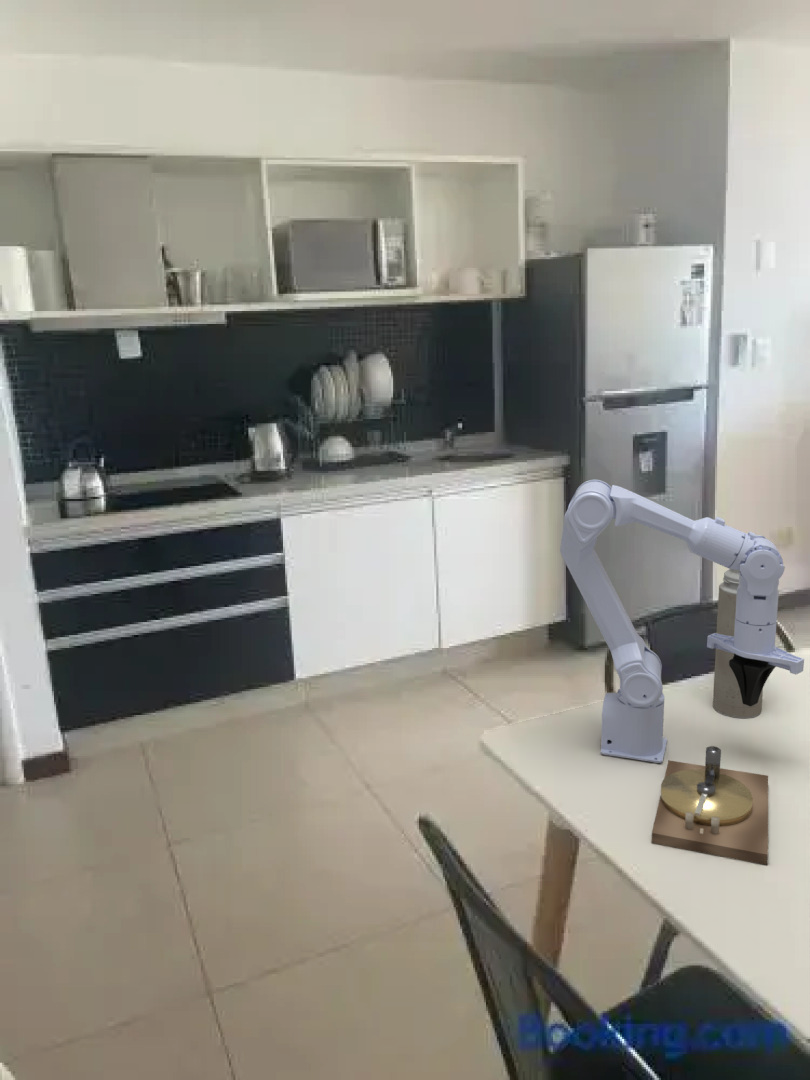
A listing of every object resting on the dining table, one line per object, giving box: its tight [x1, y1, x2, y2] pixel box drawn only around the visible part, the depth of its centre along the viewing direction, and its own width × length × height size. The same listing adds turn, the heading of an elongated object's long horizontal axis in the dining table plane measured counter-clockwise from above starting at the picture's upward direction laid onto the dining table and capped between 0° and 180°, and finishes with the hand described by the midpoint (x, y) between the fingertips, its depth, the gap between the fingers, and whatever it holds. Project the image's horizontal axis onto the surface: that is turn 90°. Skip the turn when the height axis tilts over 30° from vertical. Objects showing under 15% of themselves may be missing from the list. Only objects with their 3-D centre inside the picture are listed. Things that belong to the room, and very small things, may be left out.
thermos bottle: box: [712, 568, 764, 719], centre depth 143 cm, size 8×8×28 cm
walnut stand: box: [651, 760, 769, 866], centre depth 116 cm, size 14×20×4 cm
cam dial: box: [660, 745, 753, 826], centre depth 116 cm, size 12×12×5 cm
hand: (750, 703), depth 128 cm, fingers closed
